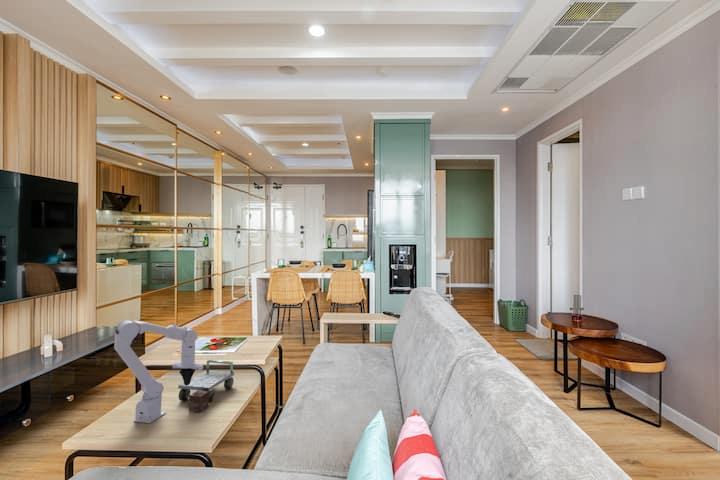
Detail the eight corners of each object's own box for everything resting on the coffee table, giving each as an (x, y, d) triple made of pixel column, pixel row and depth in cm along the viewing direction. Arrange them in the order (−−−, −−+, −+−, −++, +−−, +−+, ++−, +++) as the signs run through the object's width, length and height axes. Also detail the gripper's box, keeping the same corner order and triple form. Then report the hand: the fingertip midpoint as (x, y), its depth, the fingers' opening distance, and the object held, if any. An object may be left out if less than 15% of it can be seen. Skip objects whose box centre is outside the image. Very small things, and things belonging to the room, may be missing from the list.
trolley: (207, 405, 160) (208, 376, 160) (177, 402, 163) (178, 373, 163) (234, 386, 182) (234, 361, 183) (207, 384, 185) (208, 359, 186)
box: (209, 407, 158) (209, 391, 158) (200, 413, 152) (200, 396, 152) (197, 406, 159) (197, 390, 160) (188, 412, 153) (188, 395, 154)
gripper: (207, 353, 162) (206, 382, 162) (180, 351, 165) (179, 380, 165) (197, 357, 156) (196, 388, 155) (169, 356, 158) (168, 385, 158)
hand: (187, 384), depth 159 cm, fingers closed
